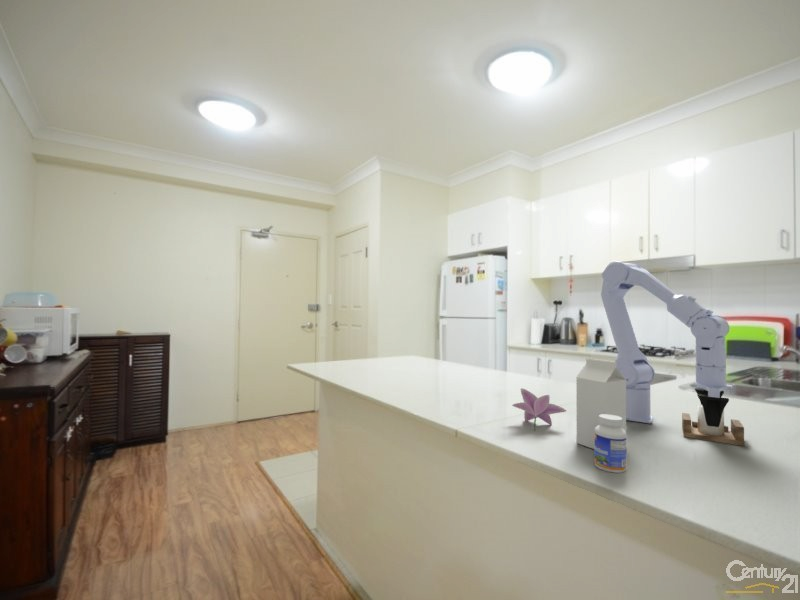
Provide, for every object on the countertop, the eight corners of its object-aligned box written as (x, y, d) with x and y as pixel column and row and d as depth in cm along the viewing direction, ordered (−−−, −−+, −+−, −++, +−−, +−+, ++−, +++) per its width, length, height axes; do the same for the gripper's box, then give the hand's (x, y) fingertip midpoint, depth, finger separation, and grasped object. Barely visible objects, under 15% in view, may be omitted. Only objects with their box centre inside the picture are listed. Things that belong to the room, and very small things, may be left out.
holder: (683, 436, 92) (683, 419, 92) (682, 428, 99) (682, 412, 99) (744, 446, 86) (744, 428, 86) (738, 436, 93) (738, 419, 93)
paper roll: (699, 433, 92) (699, 407, 92) (696, 427, 96) (695, 403, 96) (726, 437, 89) (726, 410, 89) (721, 431, 93) (721, 405, 94)
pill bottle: (588, 462, 76) (588, 413, 76) (614, 461, 77) (614, 412, 77) (605, 474, 71) (605, 420, 71) (633, 473, 71) (633, 420, 71)
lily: (572, 436, 95) (570, 398, 100) (542, 424, 90) (541, 384, 94) (531, 439, 104) (531, 404, 108) (502, 428, 98) (503, 391, 103)
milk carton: (605, 454, 81) (605, 363, 81) (576, 443, 87) (576, 359, 87) (626, 448, 84) (626, 361, 84) (596, 438, 90) (596, 357, 91)
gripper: (737, 371, 85) (737, 433, 84) (727, 363, 97) (728, 418, 96) (696, 368, 89) (697, 427, 88) (692, 361, 101) (693, 413, 100)
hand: (711, 422), depth 93 cm, fingers open, 7 cm apart
